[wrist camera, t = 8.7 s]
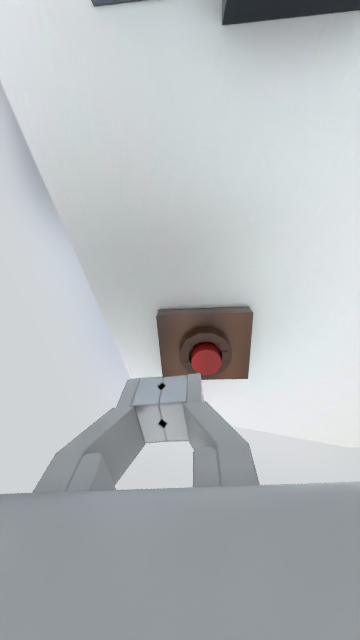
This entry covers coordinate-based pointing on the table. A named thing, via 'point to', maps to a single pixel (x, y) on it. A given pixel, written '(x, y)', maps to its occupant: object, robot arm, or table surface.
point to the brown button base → (205, 339)
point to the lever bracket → (109, 2)
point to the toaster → (280, 9)
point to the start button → (205, 359)
